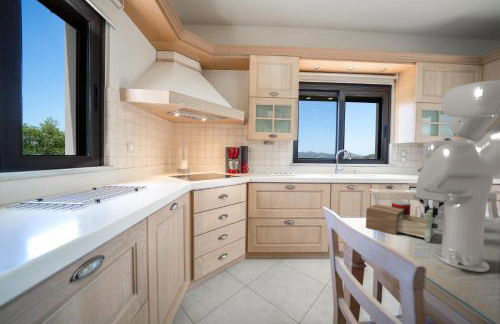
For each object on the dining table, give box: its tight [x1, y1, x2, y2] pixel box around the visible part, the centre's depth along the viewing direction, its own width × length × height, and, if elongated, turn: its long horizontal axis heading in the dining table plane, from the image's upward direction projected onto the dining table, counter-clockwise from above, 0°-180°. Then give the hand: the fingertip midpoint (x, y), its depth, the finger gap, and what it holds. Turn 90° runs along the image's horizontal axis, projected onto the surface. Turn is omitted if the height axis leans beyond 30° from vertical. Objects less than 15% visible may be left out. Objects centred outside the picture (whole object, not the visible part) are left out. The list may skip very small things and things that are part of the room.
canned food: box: [391, 199, 411, 216], centre depth 108 cm, size 8×8×11 cm
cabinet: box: [365, 203, 404, 236], centre depth 102 cm, size 14×12×9 cm
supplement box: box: [420, 194, 453, 232], centre depth 104 cm, size 10×9×17 cm
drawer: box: [397, 207, 438, 243], centre depth 94 cm, size 14×14×12 cm
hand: (430, 216), depth 90 cm, fingers closed
